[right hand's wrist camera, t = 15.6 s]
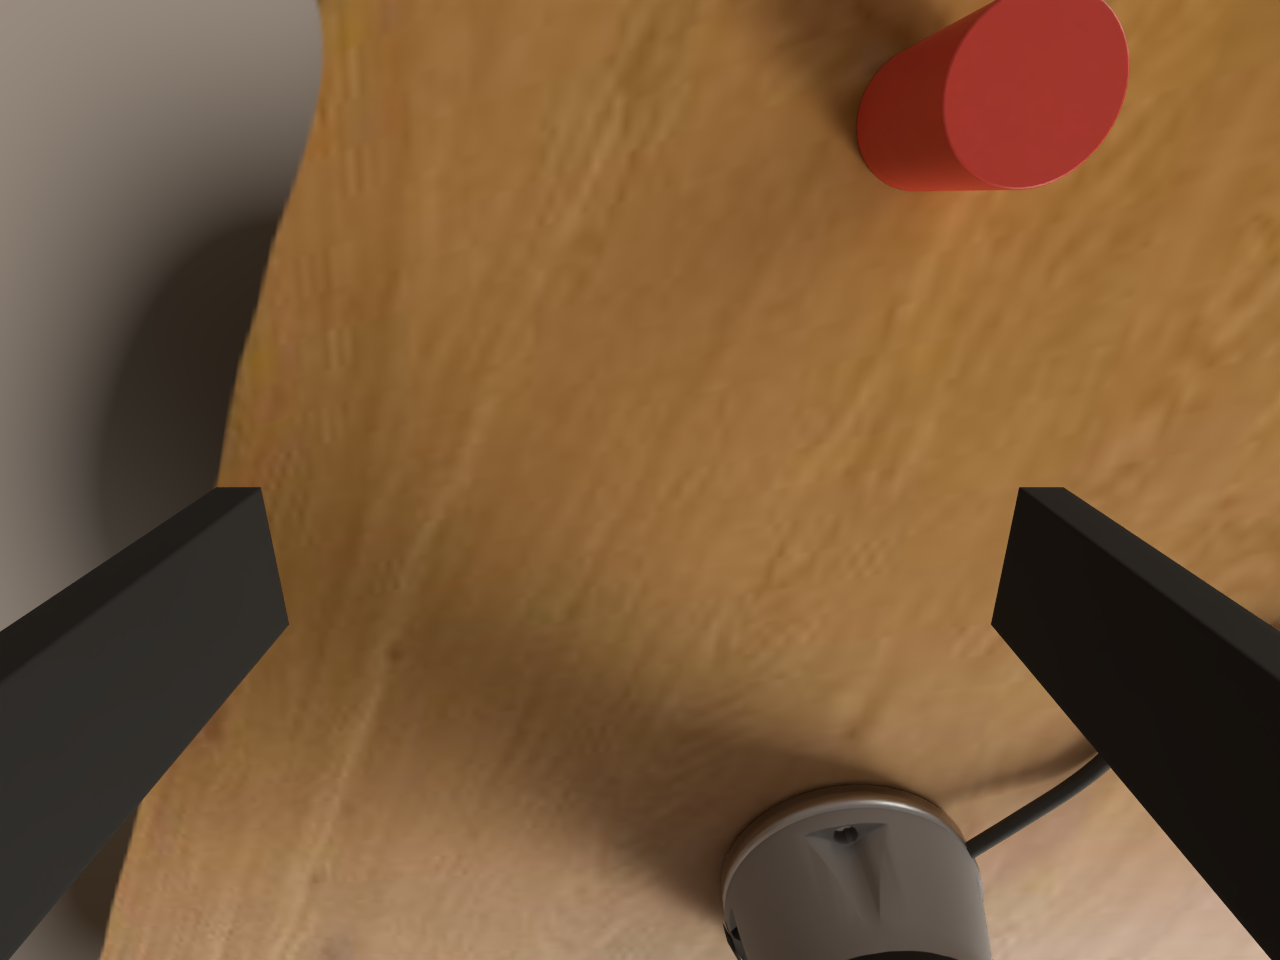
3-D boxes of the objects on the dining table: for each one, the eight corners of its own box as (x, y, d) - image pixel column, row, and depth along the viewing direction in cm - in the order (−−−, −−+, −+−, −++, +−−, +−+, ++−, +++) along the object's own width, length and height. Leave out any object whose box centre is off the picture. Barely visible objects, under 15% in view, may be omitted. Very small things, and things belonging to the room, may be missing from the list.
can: (1005, 50, 28) (1158, -10, 19) (969, 196, 30) (1095, 198, 21) (871, 37, 27) (968, -30, 19) (844, 184, 29) (922, 181, 21)
